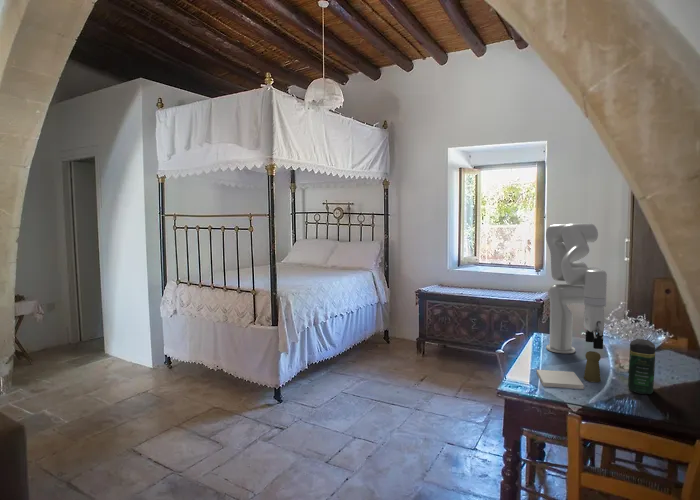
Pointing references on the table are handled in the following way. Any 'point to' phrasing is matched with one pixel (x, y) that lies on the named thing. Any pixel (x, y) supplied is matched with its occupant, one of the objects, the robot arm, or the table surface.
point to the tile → (559, 379)
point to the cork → (592, 367)
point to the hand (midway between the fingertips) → (593, 345)
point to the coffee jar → (641, 366)
